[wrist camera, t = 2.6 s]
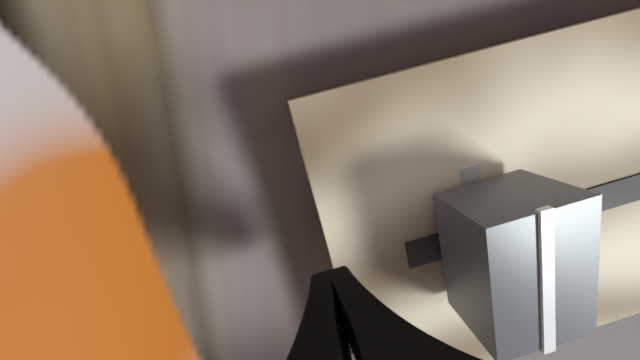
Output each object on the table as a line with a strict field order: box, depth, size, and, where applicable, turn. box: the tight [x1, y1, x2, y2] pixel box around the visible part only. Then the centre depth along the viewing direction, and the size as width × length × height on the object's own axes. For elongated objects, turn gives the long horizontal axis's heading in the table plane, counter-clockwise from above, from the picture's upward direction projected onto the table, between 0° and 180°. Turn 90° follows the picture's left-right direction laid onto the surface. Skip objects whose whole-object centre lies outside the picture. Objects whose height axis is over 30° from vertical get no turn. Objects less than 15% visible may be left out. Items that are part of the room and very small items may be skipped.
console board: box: [287, 7, 640, 360], centre depth 14 cm, size 14×26×3 cm, turn 104°
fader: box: [433, 169, 602, 360], centre depth 10 cm, size 5×4×3 cm
